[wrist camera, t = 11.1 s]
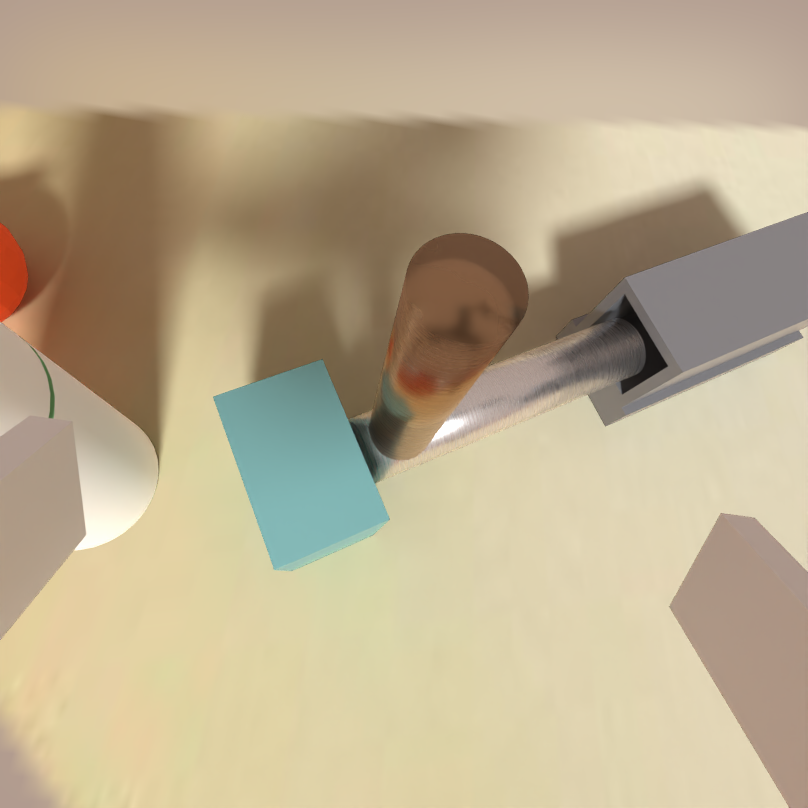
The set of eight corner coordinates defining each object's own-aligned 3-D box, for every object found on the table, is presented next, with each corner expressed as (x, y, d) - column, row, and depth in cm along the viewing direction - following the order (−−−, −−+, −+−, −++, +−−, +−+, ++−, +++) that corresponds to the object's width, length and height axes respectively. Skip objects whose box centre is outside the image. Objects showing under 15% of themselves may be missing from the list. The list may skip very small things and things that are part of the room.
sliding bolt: (621, 384, 28) (909, 195, 14) (312, 513, 24) (285, 428, 10) (593, 334, 29) (840, 109, 15) (289, 451, 25) (231, 289, 11)
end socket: (372, 535, 27) (389, 519, 19) (292, 571, 26) (274, 570, 18) (325, 418, 29) (322, 359, 21) (247, 447, 28) (212, 396, 20)
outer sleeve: (773, 352, 35) (891, 293, 27) (605, 426, 31) (688, 381, 24) (721, 274, 36) (820, 198, 29) (556, 336, 33) (619, 269, 25)
